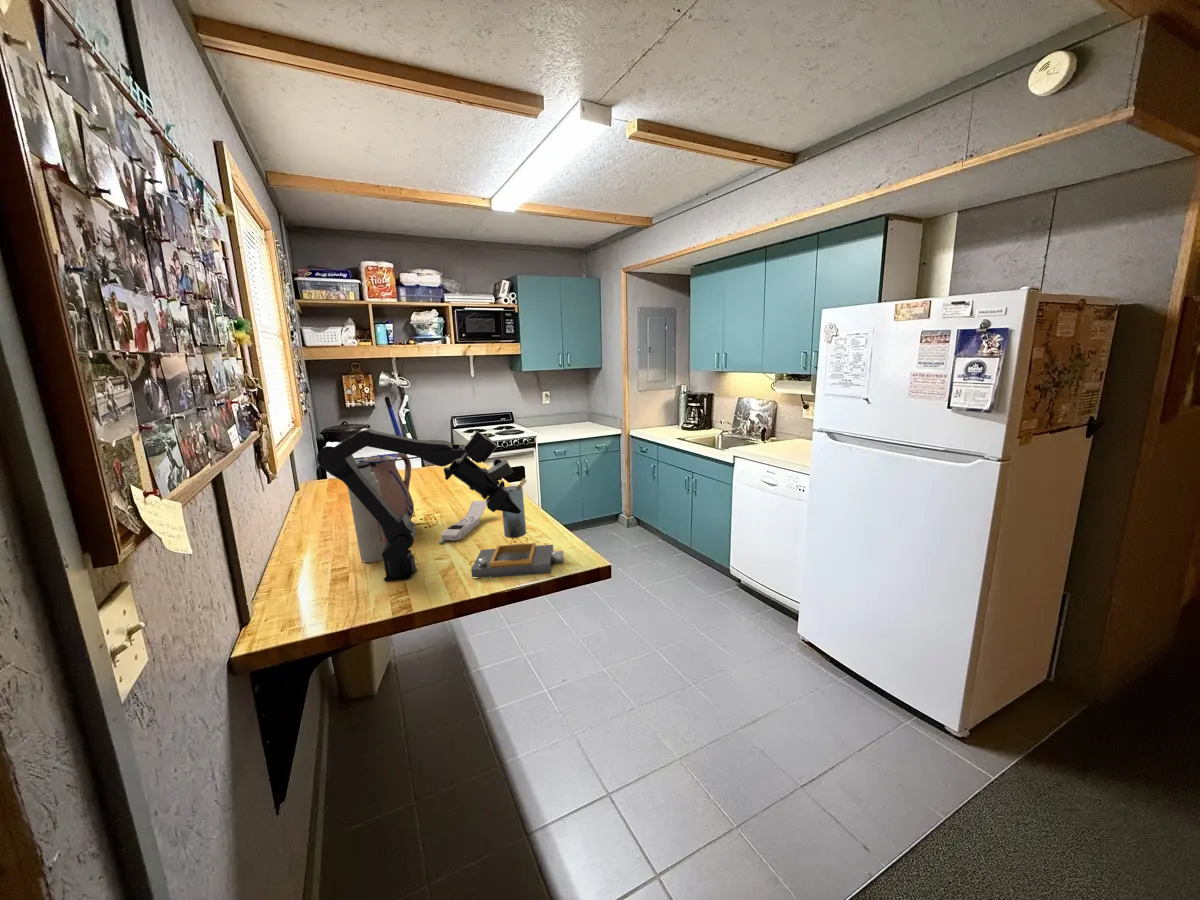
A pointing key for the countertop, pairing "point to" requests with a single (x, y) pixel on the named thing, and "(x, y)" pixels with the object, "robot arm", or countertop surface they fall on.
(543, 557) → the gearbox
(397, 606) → the countertop surface
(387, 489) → the ceramic pitcher
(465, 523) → the mobile phone
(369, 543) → the thermos bottle
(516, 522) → the spout can
